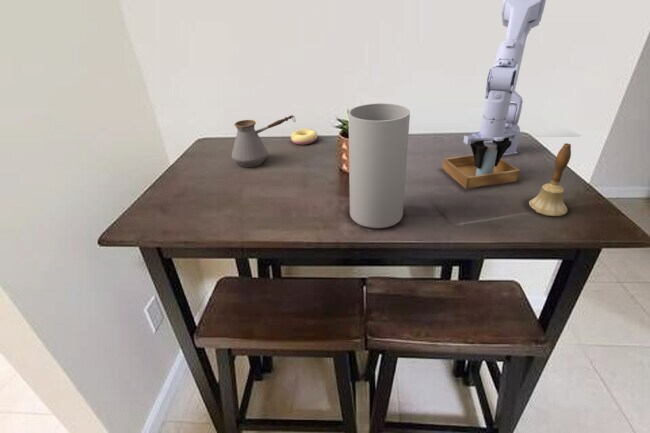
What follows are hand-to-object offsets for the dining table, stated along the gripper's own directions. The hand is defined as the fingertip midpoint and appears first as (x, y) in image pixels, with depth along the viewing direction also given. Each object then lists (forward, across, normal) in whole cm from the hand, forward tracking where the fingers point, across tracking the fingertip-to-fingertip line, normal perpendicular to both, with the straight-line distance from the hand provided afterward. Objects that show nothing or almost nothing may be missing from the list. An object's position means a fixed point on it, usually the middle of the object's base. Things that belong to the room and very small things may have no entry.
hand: (485, 165), depth 104 cm
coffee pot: (+4, -58, +30) cm, 65 cm away
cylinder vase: (+4, -35, -11) cm, 37 cm away
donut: (+4, -43, +45) cm, 62 cm away
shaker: (+3, 0, 0) cm, 3 cm away
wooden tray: (+3, -1, +1) cm, 4 cm away
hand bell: (+4, +5, -19) cm, 20 cm away
